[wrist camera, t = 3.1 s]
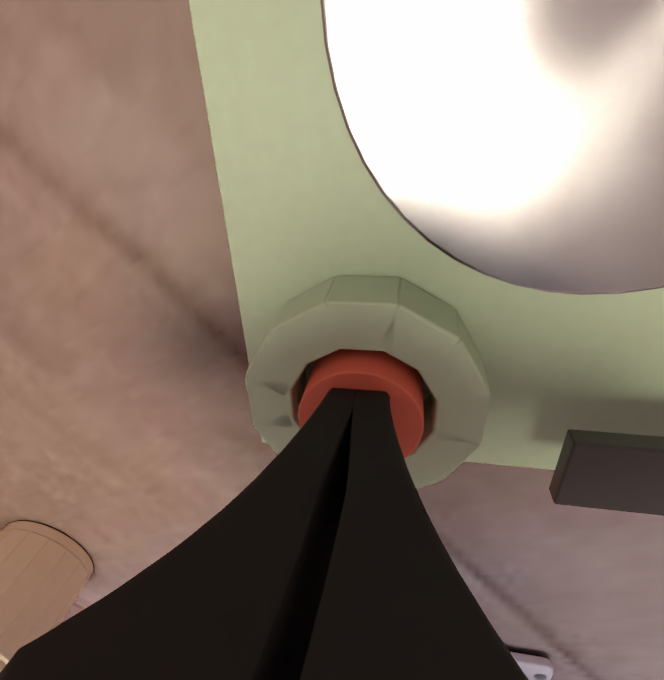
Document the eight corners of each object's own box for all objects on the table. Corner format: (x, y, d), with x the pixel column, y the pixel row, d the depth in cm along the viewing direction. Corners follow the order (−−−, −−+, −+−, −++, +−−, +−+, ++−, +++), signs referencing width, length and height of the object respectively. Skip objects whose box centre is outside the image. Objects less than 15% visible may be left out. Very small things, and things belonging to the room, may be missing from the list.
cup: (106, 586, 24) (38, 694, 19) (26, 573, 24) (-56, 673, 20) (74, 527, 21) (-13, 636, 17) (-14, 514, 22) (-117, 616, 18)
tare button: (419, 428, 12) (419, 475, 10) (315, 419, 12) (302, 463, 11) (426, 336, 10) (429, 376, 9) (309, 330, 11) (292, 367, 9)
